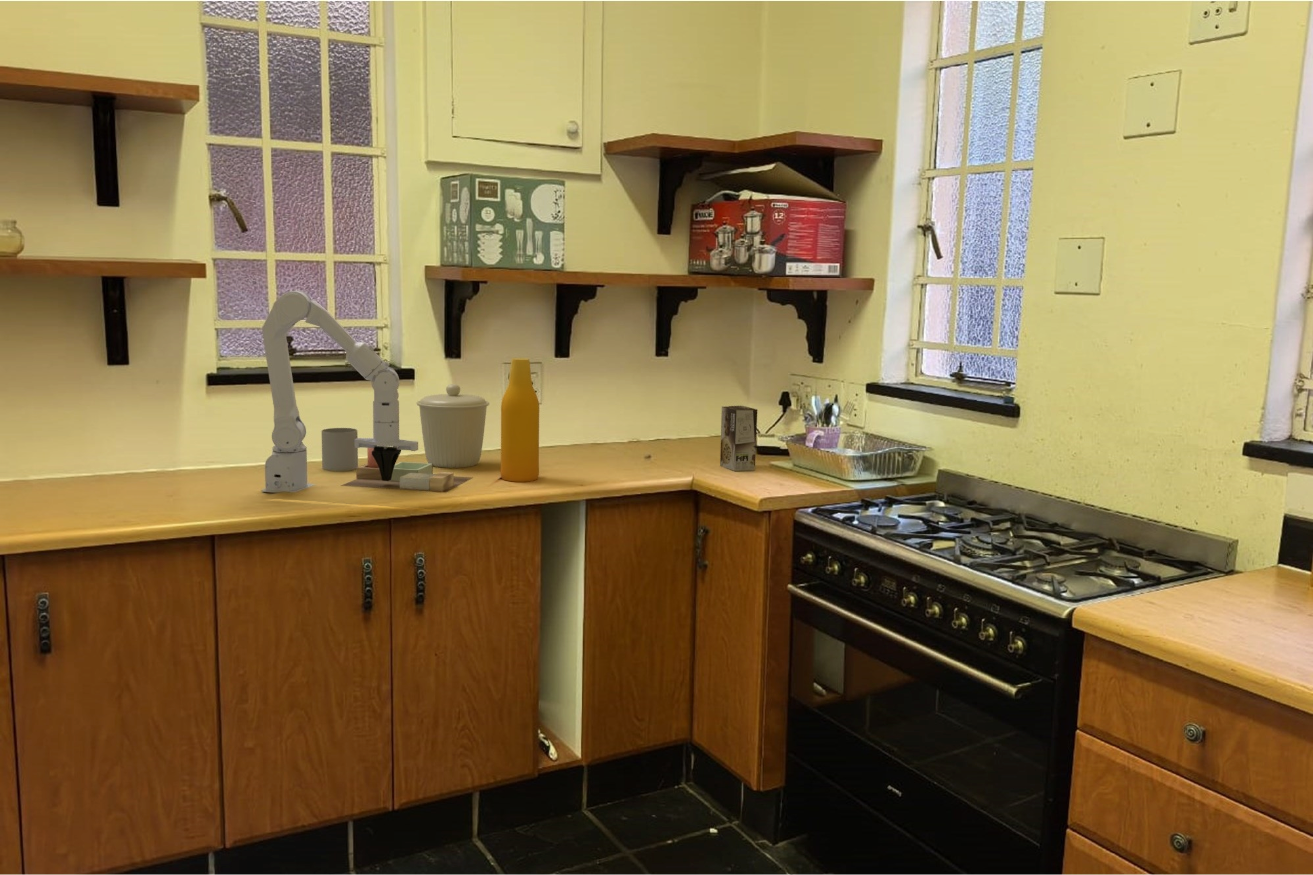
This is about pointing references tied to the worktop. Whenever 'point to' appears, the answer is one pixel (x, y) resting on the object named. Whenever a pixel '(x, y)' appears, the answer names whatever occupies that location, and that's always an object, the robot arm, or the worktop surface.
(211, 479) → the worktop surface
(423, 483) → the grey flat block
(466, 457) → the canister
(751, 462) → the coffee box
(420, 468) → the tray
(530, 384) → the beer bottle
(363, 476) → the bench board
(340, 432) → the cup
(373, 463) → the dowel
